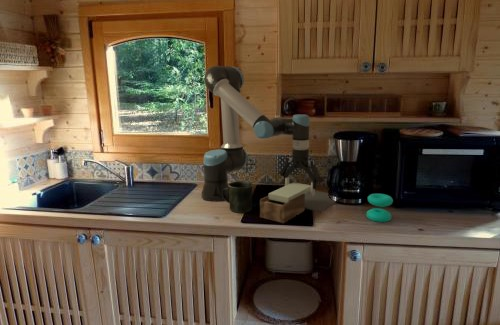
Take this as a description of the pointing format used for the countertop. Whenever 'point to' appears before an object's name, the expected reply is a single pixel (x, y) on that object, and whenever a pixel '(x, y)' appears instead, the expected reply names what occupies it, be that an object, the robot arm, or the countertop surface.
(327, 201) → the mat
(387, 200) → the donuts
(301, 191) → the lid
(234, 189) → the mug
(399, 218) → the countertop surface
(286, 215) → the box
